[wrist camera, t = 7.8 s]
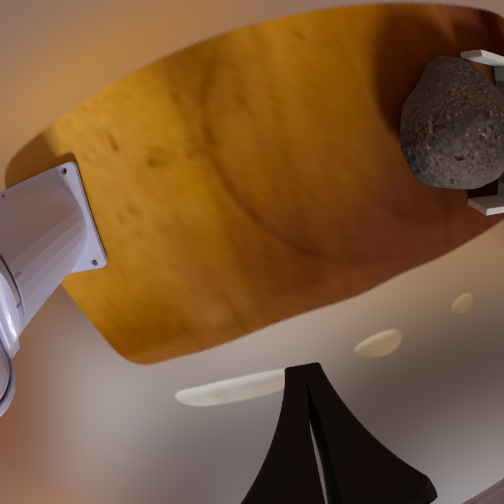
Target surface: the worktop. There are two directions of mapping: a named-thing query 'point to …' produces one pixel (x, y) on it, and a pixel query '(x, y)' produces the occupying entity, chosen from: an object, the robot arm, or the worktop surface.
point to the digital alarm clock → (500, 64)
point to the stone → (453, 126)
